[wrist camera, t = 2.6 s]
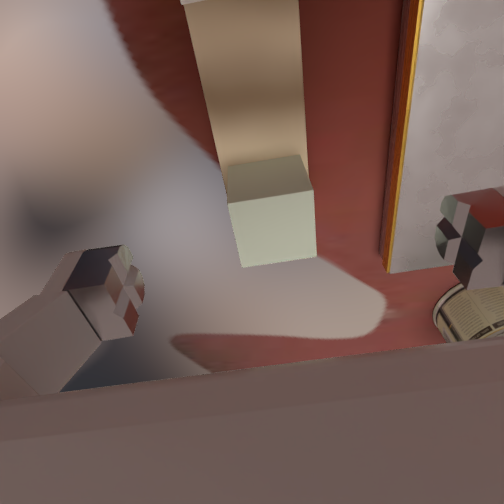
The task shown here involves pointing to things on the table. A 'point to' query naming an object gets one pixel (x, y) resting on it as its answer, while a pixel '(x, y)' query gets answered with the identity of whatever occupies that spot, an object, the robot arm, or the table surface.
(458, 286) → the coffee can
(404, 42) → the dock
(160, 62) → the table surface
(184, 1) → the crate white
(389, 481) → the robot arm
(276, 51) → the checkered beige brown block
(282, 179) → the pale green cube
